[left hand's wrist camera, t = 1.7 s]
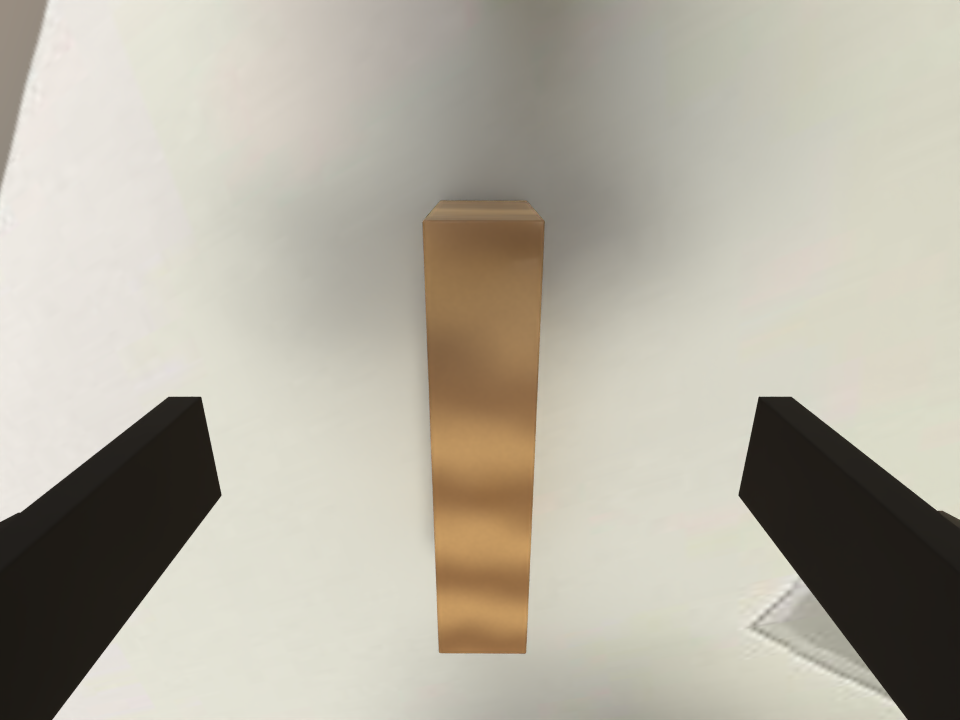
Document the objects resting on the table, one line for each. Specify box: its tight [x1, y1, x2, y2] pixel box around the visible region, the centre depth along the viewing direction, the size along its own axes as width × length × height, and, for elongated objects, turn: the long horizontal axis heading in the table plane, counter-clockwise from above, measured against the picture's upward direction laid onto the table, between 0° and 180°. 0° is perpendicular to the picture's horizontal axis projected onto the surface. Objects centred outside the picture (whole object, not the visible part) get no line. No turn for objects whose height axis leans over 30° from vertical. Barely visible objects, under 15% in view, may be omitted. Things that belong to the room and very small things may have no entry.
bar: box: [423, 201, 545, 654], centre depth 29 cm, size 23×5×9 cm, turn 0°
